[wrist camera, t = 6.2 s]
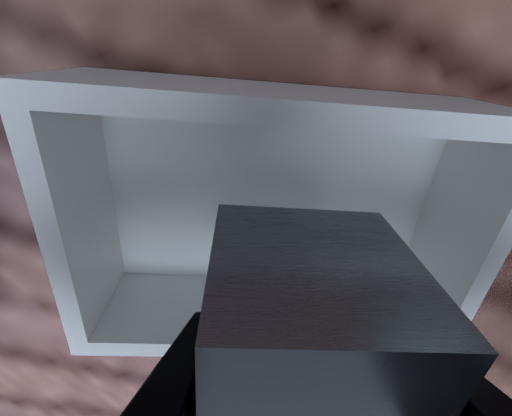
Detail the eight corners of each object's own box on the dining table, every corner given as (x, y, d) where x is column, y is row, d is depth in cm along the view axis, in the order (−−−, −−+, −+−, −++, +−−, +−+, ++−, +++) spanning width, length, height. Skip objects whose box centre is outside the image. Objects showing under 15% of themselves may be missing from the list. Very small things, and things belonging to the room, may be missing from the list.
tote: (464, 97, 14) (581, 122, 9) (396, 281, 19) (449, 360, 14) (84, 66, 13) (-11, 76, 8) (118, 272, 18) (71, 355, 13)
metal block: (379, 212, 10) (498, 354, 5) (346, 326, 12) (407, 493, 7) (218, 204, 9) (194, 347, 5) (216, 323, 11) (197, 495, 7)
